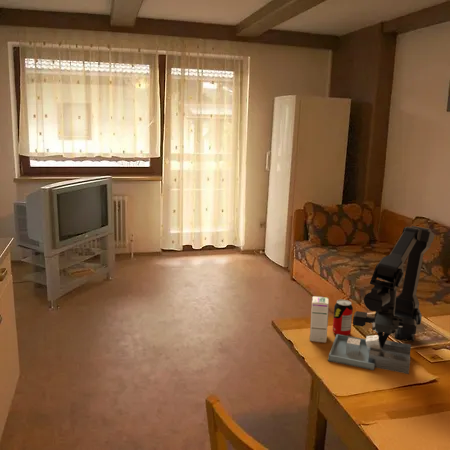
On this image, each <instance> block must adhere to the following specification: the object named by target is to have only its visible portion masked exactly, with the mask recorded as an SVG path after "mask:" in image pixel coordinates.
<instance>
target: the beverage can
mask: <svg viewBox="0 0 450 450" xmlns="http://www.w3.org/2000/svg"><path fill="white" fill-rule="evenodd" d="M353 309H354V307H353V305H352V302H351V301H350V300H347V299H341V298H340V299H337V300H336V303H335V304H334V305H333V320H332V321H333V322H332V332H333V333H334V334H335V335H336V334H340V335H346V336H350V334H351V332H352V324H353V311H354V310H353Z"/></svg>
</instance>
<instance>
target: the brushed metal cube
mask: <svg viewBox="0 0 450 450" xmlns="http://www.w3.org/2000/svg"><path fill="white" fill-rule="evenodd" d="M360 343H361V340H360V339H355V338H349V337H348V340H347V344H346V354H349V355H354V356H358V355H359V352H360Z"/></svg>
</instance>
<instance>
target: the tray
mask: <svg viewBox="0 0 450 450" xmlns="http://www.w3.org/2000/svg"><path fill="white" fill-rule="evenodd" d="M348 337H349V338H355V339H360V340H361V343H360V352H359V355H358V356H354V355H349V354H346V344H347V340H348ZM327 358H328V360H327V361H328V362H332V363H336V364H340V365H341V364H342V365H345V366H346V365H347V366H351V367H356V368H360V369H361V368H362V369H366V370H371V371H375V368H376V367H375V366H374V365H375V364H374V363H369V362H368V359H369V353H368V349H367V345H366V338H361V337H355V336H350V335H347V336H346V335H340V334H335V338H334V340H333V343H332V346H331V349H330V351H329V353H328V357H327Z"/></svg>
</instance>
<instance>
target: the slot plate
mask: <svg viewBox="0 0 450 450" xmlns="http://www.w3.org/2000/svg"><path fill="white" fill-rule="evenodd" d="M411 348H412V344H410V343H409V344H408V343H402V342H398V341H393V340H388V339H387V340H386V342H385V344H384V346H383V348H382V350H381V352H378V351H373V350H370V352H369V359H368V362H369V363H374V364H375V365H374V366H375V367H374V368H377V369H380V370H381V369H382V370H386V371H391V372H396V373H402V374H405V375H410V374H409V373H410V367H411V352H412V351H411V350H412V349H411Z"/></svg>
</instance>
